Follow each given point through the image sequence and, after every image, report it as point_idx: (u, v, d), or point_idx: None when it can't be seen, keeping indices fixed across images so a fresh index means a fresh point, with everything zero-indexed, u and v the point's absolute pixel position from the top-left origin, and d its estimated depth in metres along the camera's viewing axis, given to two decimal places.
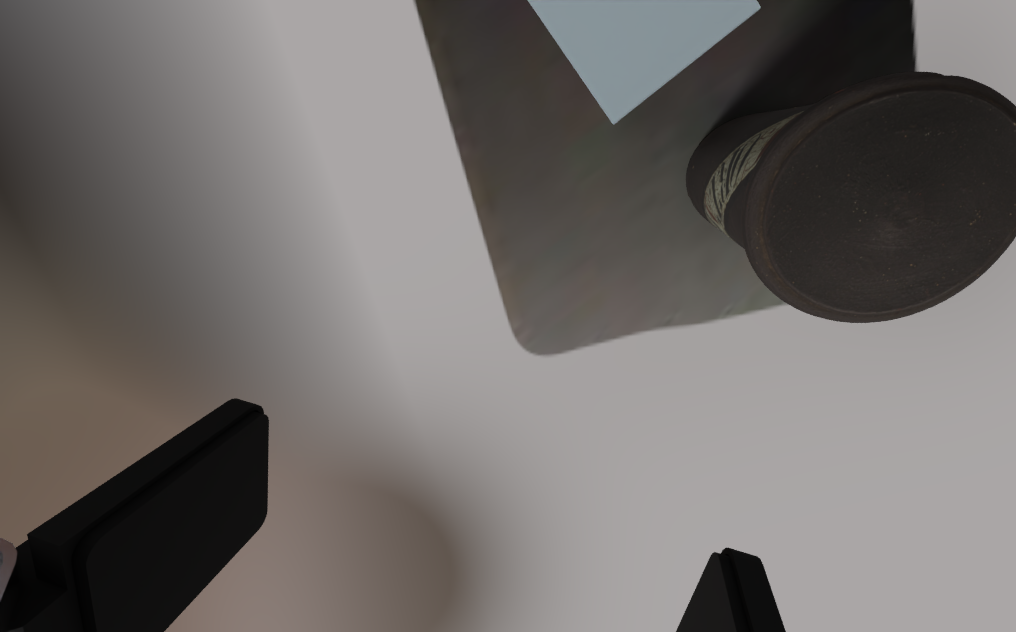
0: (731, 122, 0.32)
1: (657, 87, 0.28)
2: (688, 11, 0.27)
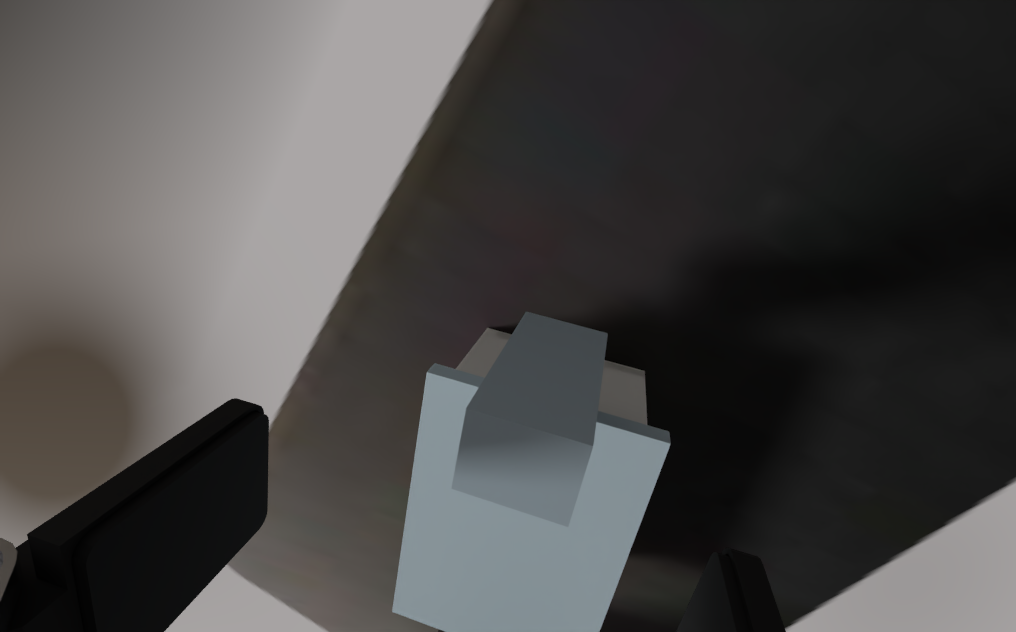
0: None
1: None
2: (529, 626, 0.22)
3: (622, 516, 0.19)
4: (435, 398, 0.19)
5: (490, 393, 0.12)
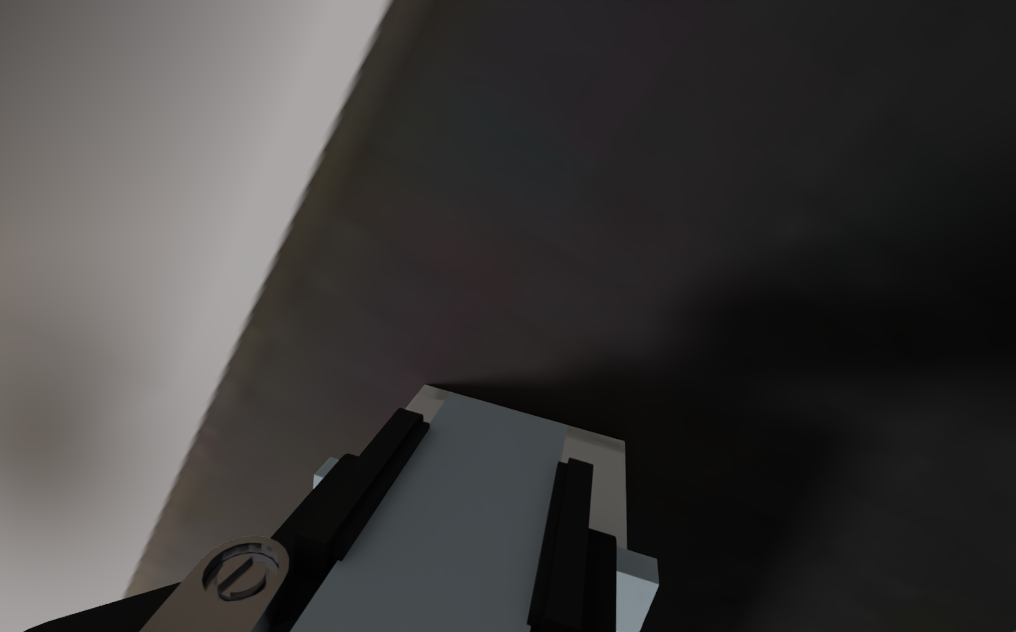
0: None
1: None
2: None
3: None
4: None
5: (333, 607, 0.07)
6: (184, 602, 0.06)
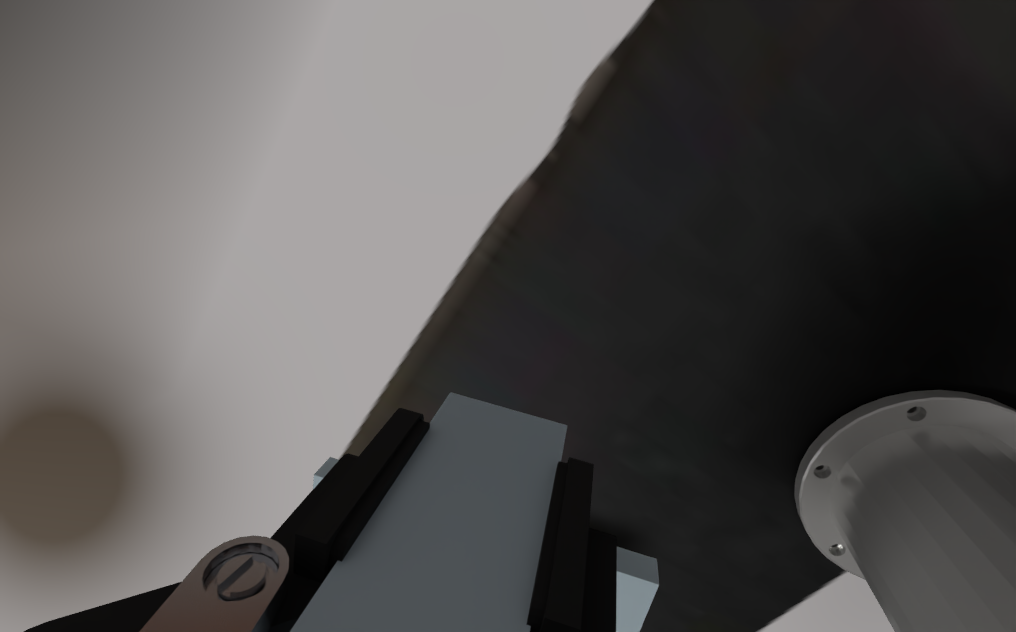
0: None
1: None
2: None
3: None
4: None
5: (332, 607, 0.07)
6: (184, 602, 0.06)
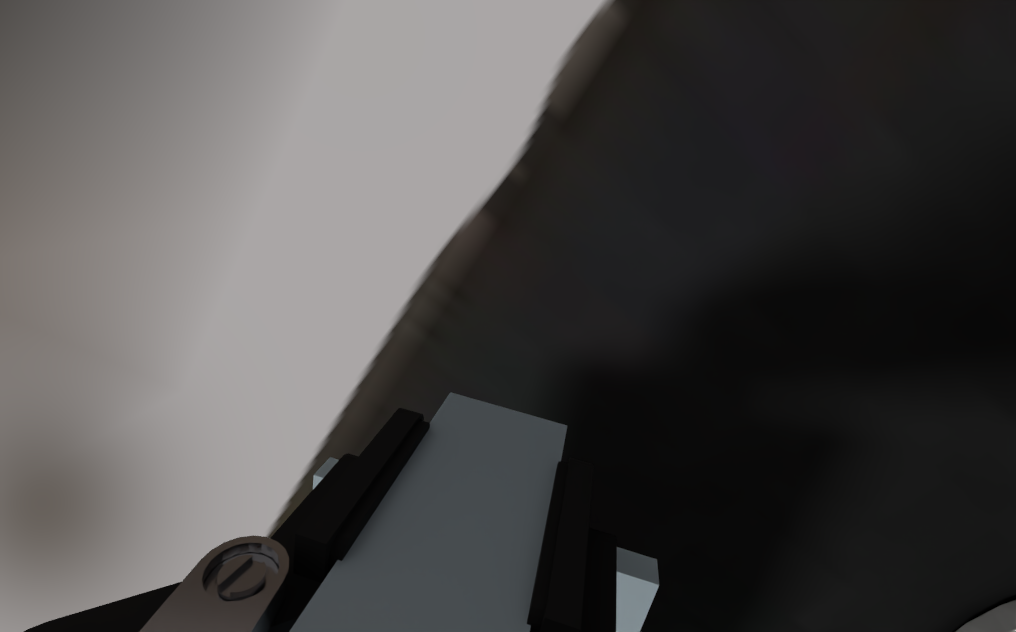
0: None
1: None
2: None
3: None
4: None
5: (332, 607, 0.07)
6: (184, 602, 0.06)
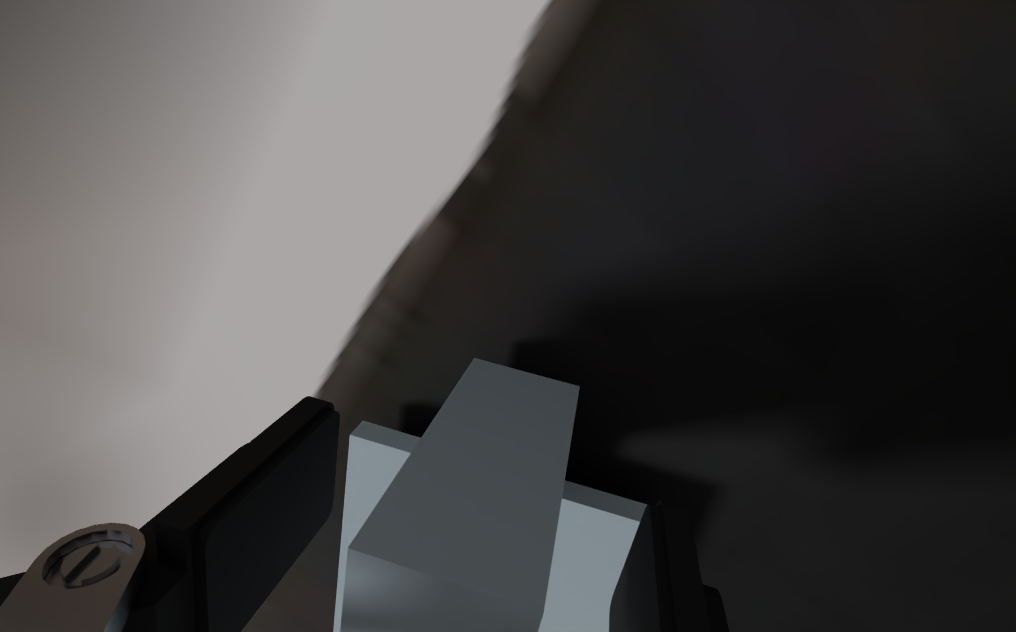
0: None
1: None
2: None
3: (602, 614, 0.15)
4: (362, 467, 0.15)
5: (393, 511, 0.08)
6: (16, 589, 0.06)
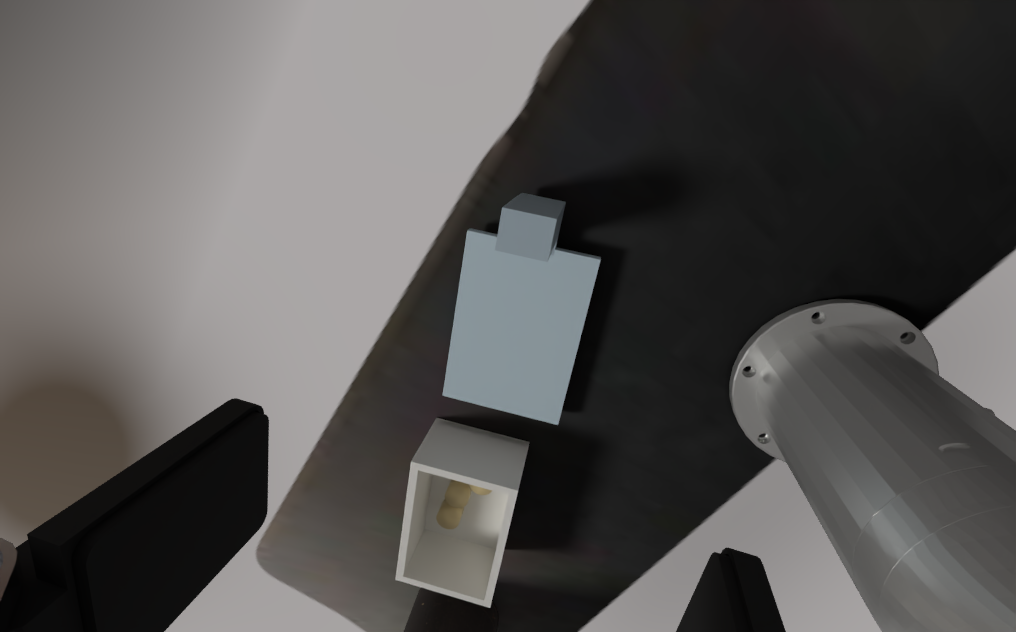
0: (459, 605, 0.45)
1: (480, 404, 0.38)
2: (526, 390, 0.37)
3: (577, 308, 0.34)
4: (472, 246, 0.34)
5: (511, 206, 0.27)
6: None
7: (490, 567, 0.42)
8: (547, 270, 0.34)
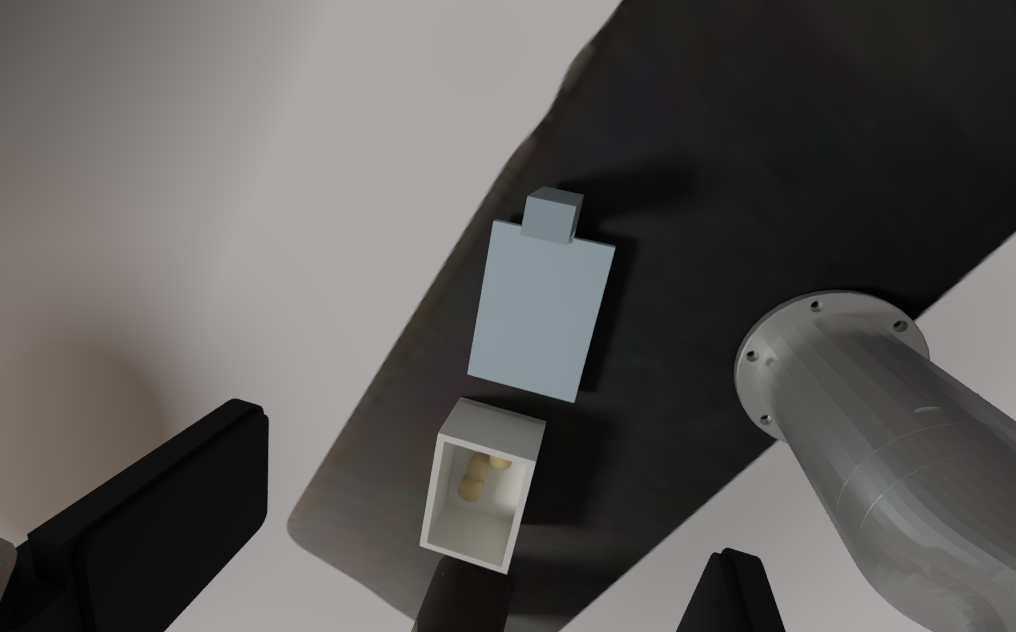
0: (477, 575, 0.48)
1: (502, 382, 0.41)
2: (545, 370, 0.40)
3: (593, 292, 0.37)
4: (497, 235, 0.37)
5: (535, 195, 0.31)
6: None
7: (507, 538, 0.45)
8: (566, 257, 0.37)
